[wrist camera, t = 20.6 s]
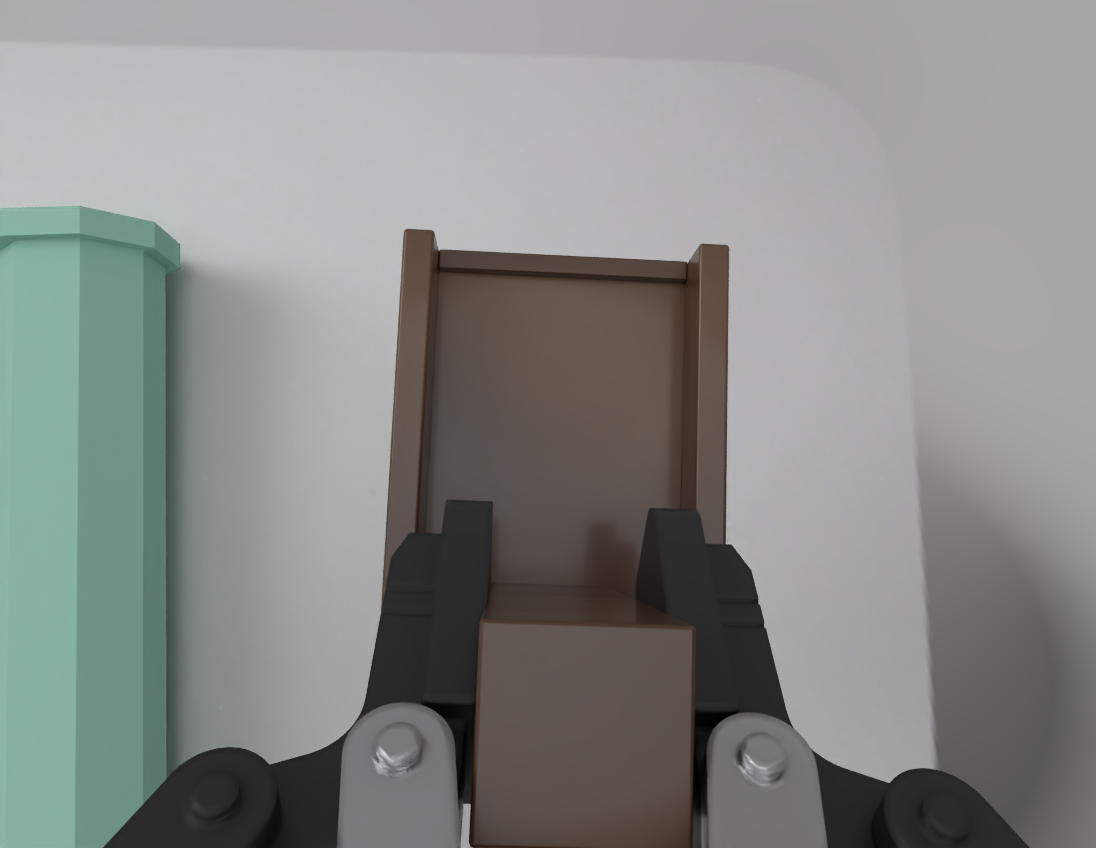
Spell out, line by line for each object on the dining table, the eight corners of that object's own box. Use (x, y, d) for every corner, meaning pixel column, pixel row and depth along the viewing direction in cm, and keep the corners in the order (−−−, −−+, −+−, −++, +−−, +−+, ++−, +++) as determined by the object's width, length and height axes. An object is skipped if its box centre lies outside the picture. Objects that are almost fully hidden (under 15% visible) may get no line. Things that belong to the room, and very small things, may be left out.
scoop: (414, 260, 20) (337, 26, 11) (706, 275, 20) (869, 57, 11) (388, 711, 18) (275, 874, 9) (700, 720, 19) (877, 888, 10)
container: (69, 1130, 23) (78, 191, 26) (-94, 1092, 25) (-70, 223, 28) (224, 1009, 29) (217, 247, 31) (81, 986, 31) (86, 270, 33)
